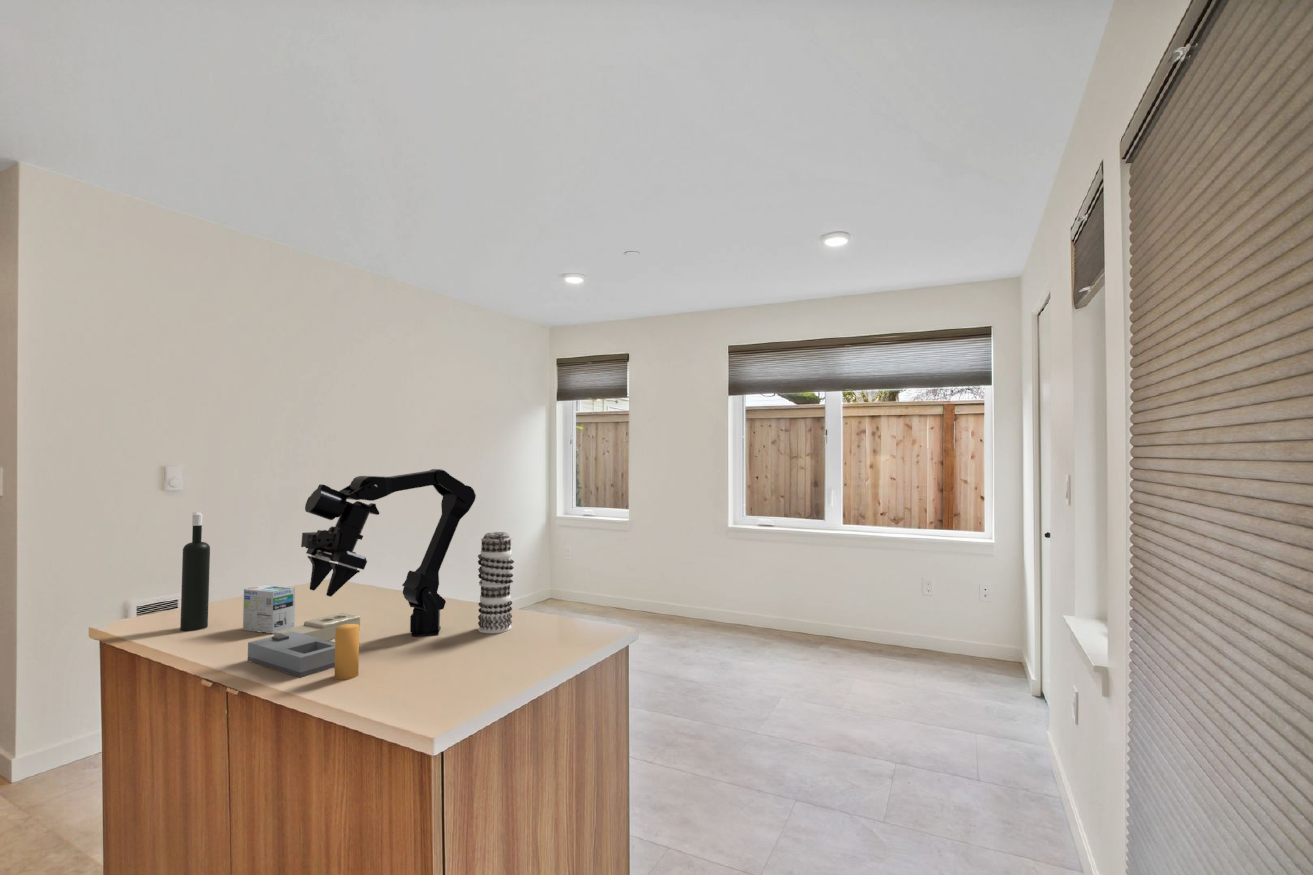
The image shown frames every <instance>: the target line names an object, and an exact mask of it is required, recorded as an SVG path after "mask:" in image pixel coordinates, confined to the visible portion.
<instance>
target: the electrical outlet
mask: <svg viewBox="0 0 1313 875" xmlns="http://www.w3.org/2000/svg"><path fill="white" fill-rule="evenodd" d="M345 624H358V625H359V631H361V616H360V615H357V614H356V615H355V614H349V613H344V612H342V613H337V614H331V615H328V616H324V617H319V618H315V619H314V618H313V619H310V620H309V619H308V620H306V621H304V622H303V624H302V625H299V626H295V627H293V628H289V629H285V630H280V631H276V632H274V633H273V636H277V635H281V634H286V633H290V632H297V633H301V634H305V635H309V636H313V637H317V638H321V639H324V640H328V641H331V640H335V633H336V627H337V626H340V625H345Z"/></svg>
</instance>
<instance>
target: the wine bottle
mask: <svg viewBox="0 0 1313 875" xmlns="http://www.w3.org/2000/svg"><path fill="white" fill-rule="evenodd" d="M203 515H204V512H203V511H196V512H194V511H193V512H192V521H191V525H192V531H191V532H192V538H191V542H188V543H186V544H185V545H184V546H183V547H182V559H181V560H182V562H181V563H182V565H181V566H182V567H181V568H182V570H181V593H180V594H181V596H180V623H179V624H180V629H179V630H180V631H182V632H192V631H193V632H194V631H200V630H204V629H206V628H208V626H209V602H210V600H209V599H210V598H209V596H210V593H209V591H210V560H211V559H210V558H211V546H210V545H209V543H208V542H206V541H202V537H203V536H202V535H203V534H202V531H203V528H202V527H203V518H204V517H203Z"/></svg>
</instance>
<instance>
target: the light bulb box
mask: <svg viewBox="0 0 1313 875" xmlns="http://www.w3.org/2000/svg"><path fill="white" fill-rule="evenodd" d="M242 612H243V613H242V615H243V617H242V618H243V619H242V620H243V621H242V631H247V632H255V631H260V632H259V633H262V632H266V633H265V634H270V633H273V634H274V632H276V631H280V630H285V629H289V628H292V627H296V624H295V622H296V620H295V619H296V617H295V616H296V615H295V614H296V613H295V612H296V587H295V586H285V585H284V586H283V585H273V584H271V585H270V584H262V585H257V586H253V587H246V588H243V610H242Z"/></svg>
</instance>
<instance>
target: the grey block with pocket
mask: <svg viewBox="0 0 1313 875" xmlns="http://www.w3.org/2000/svg"><path fill="white" fill-rule="evenodd" d="M247 661H248V662H250V661H251V662H250V663H253V664H257V665H260V666H263V667H266V668H269V669H272V670H276V671H278V670H279V671H278V672H282V673H285V674H288V675H291V674H292V675H291V676H294V677H298V678H303V677H306V676H309V674H310V675H314V674H316V673H319V672H323V670H324V671H326V670H329V669H335V641H331V640H324V639H321V638H317V637H313V636H309V635H305V634H301V633H297V632H290V633H286V634H281V635H277V636H274V635H273V636H269V637H265V638H261V639H257V640H253V641H248V642H247Z"/></svg>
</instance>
